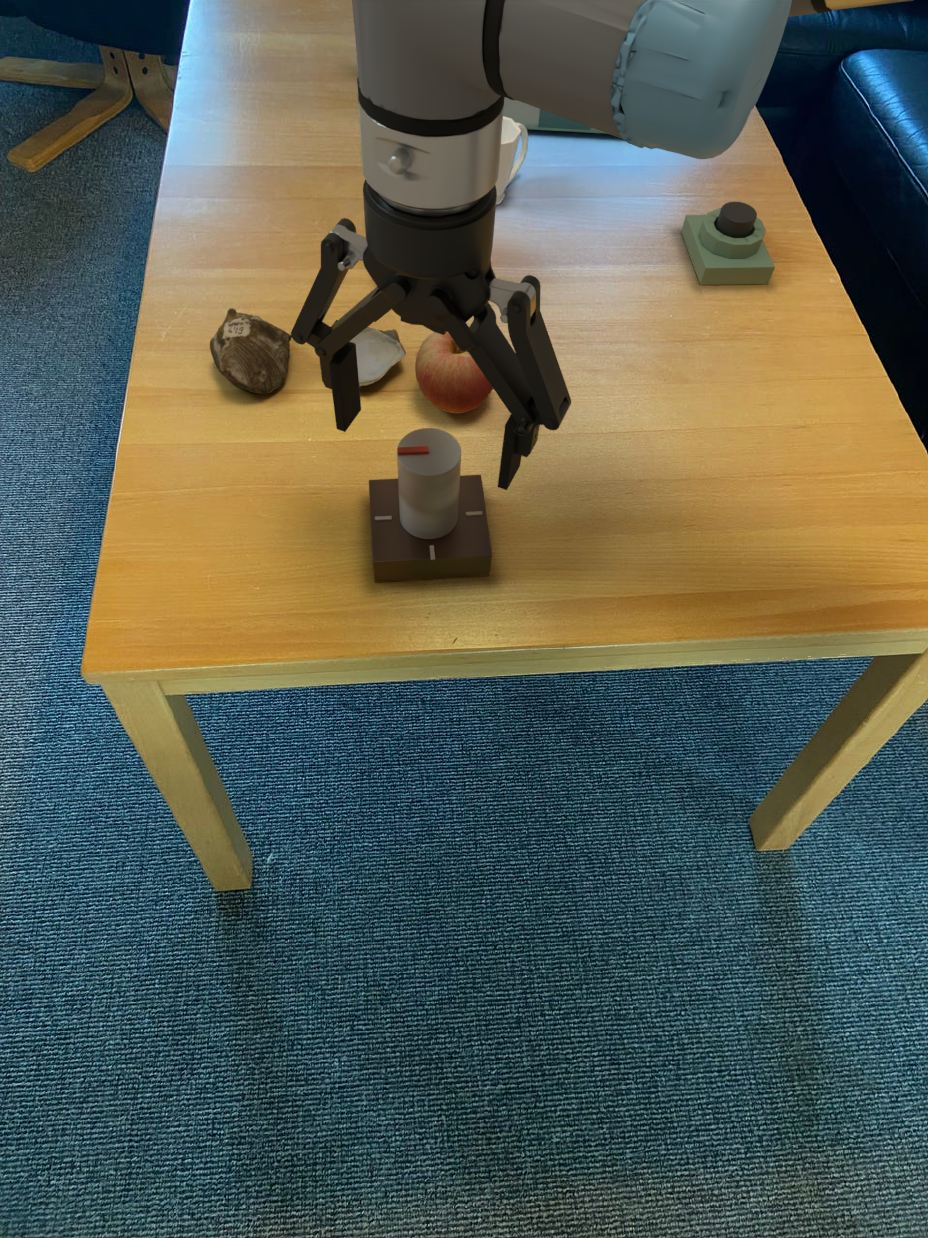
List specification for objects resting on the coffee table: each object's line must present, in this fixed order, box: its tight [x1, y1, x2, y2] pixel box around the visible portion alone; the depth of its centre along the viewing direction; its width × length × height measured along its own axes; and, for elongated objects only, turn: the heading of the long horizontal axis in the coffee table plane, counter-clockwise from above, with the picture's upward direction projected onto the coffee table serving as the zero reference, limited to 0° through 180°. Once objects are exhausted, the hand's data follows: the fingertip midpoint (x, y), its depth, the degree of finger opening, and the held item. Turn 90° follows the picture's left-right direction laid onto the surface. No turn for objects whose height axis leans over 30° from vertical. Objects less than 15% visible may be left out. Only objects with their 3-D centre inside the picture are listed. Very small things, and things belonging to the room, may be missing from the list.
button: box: [716, 201, 758, 238], centre depth 93 cm, size 4×4×2 cm
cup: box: [495, 116, 529, 206], centre depth 99 cm, size 7×10×8 cm
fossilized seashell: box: [209, 308, 293, 394], centre depth 82 cm, size 8×7×10 cm
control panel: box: [368, 474, 493, 583], centre depth 72 cm, size 10×9×3 cm
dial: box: [396, 427, 462, 539], centre depth 68 cm, size 5×5×8 cm
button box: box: [680, 207, 776, 286], centre depth 95 cm, size 10×8×4 cm
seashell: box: [349, 326, 407, 388], centre depth 84 cm, size 8×3×8 cm
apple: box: [414, 331, 494, 414], centre depth 80 cm, size 8×8×8 cm
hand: (427, 447), depth 64 cm, fingers open, 13 cm apart
